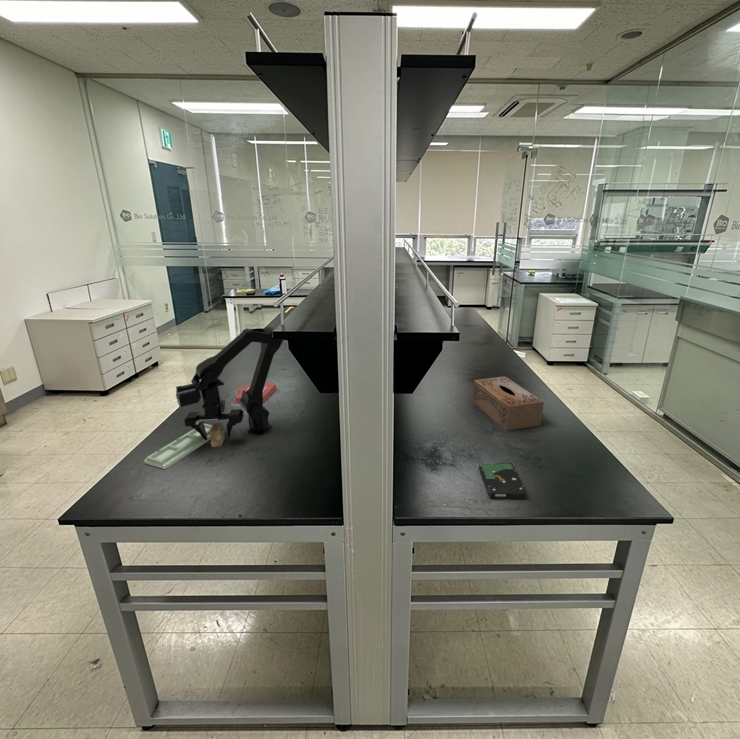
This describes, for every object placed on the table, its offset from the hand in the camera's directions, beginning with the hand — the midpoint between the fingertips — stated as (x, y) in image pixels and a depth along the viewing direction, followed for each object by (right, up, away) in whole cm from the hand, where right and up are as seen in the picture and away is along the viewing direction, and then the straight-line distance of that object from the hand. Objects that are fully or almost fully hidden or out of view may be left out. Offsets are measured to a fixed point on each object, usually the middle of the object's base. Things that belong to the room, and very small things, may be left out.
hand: (218, 439), depth 147 cm
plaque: (+2, +12, +38) cm, 40 cm away
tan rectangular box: (0, -1, 0) cm, 1 cm away
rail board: (-11, -2, -2) cm, 11 cm away
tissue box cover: (+107, +7, +18) cm, 109 cm away
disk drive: (+92, -10, -24) cm, 96 cm away
